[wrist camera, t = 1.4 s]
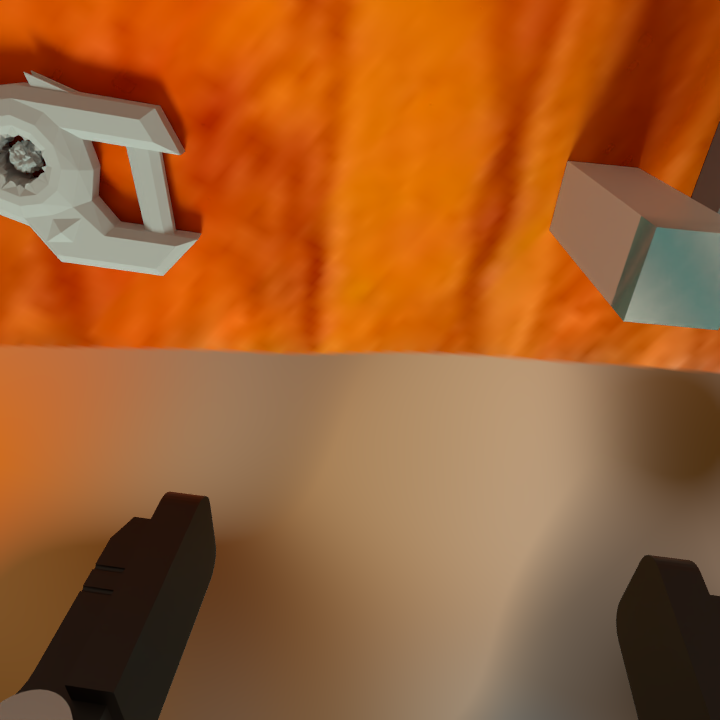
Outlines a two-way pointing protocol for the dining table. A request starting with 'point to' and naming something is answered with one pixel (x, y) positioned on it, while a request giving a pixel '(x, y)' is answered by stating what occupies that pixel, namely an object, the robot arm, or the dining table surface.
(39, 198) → the gun
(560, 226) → the plug
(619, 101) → the dining table surface
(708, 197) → the two-hole peg board
